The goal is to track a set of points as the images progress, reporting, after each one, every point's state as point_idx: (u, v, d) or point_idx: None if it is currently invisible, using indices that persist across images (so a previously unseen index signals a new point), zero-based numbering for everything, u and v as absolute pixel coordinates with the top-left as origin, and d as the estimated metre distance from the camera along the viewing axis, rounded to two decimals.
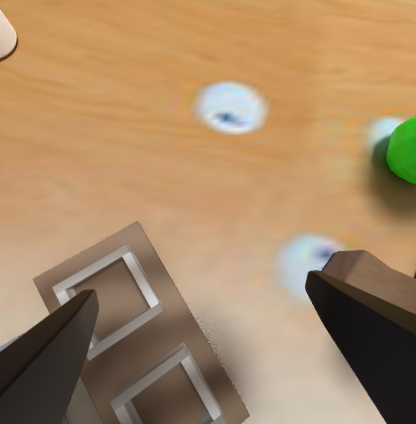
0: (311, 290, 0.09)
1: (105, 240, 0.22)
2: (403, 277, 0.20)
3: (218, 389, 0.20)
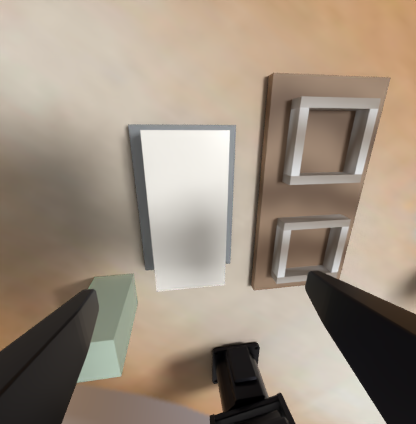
0: (311, 290, 0.09)
1: (352, 78, 0.18)
2: None
3: None
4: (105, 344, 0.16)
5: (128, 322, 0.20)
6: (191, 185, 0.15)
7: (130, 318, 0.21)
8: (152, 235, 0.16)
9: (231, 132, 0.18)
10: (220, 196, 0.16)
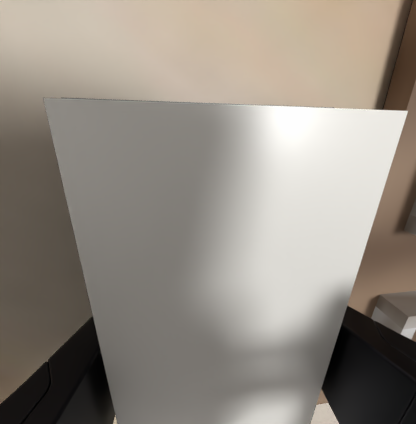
0: None
1: None
2: None
3: None
4: None
5: None
6: (245, 292, 0.05)
7: None
8: (121, 419, 0.06)
9: None
10: (325, 314, 0.05)
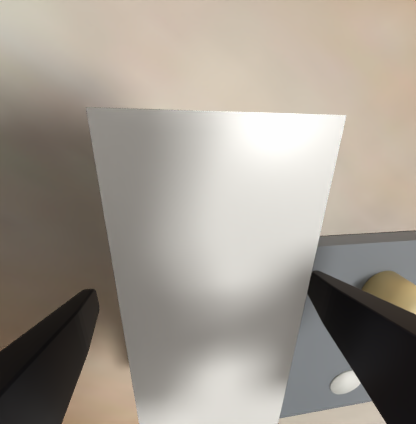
0: (311, 290, 0.09)
1: None
2: None
3: None
4: None
5: None
6: (230, 255, 0.06)
7: None
8: (132, 361, 0.07)
9: None
10: (294, 276, 0.07)
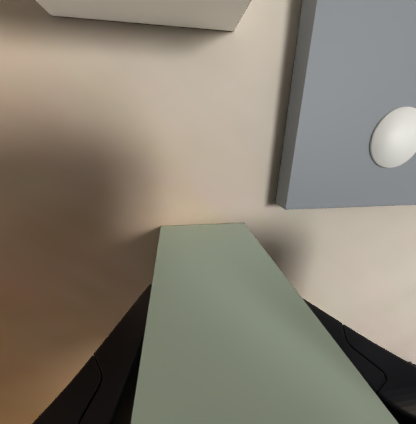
0: None
1: None
2: None
3: None
4: None
5: None
6: None
7: None
8: None
9: None
10: None
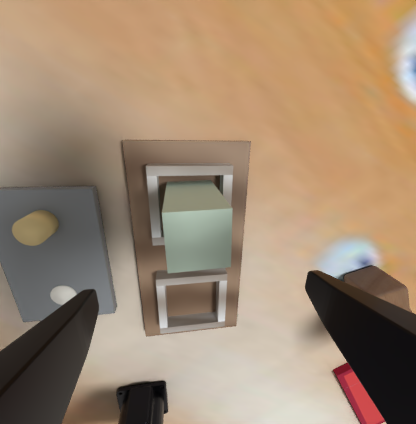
0: (311, 290, 0.09)
1: (210, 143, 0.18)
2: None
3: (227, 304, 0.25)
4: (222, 215, 0.12)
5: None
6: None
7: None
8: None
9: (88, 195, 0.18)
10: None
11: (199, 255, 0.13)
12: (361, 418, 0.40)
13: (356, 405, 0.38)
